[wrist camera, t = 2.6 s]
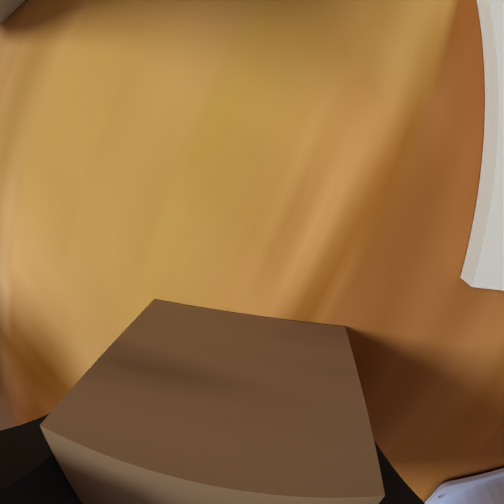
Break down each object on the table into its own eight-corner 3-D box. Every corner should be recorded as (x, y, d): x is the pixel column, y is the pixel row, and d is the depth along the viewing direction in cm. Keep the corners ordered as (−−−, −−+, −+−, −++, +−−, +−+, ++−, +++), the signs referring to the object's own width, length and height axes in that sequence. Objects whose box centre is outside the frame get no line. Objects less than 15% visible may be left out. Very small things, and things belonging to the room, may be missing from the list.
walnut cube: (307, 449, 11) (304, 579, 5) (163, 426, 12) (108, 540, 6) (345, 326, 9) (384, 496, 4) (154, 299, 10) (39, 425, 4)
